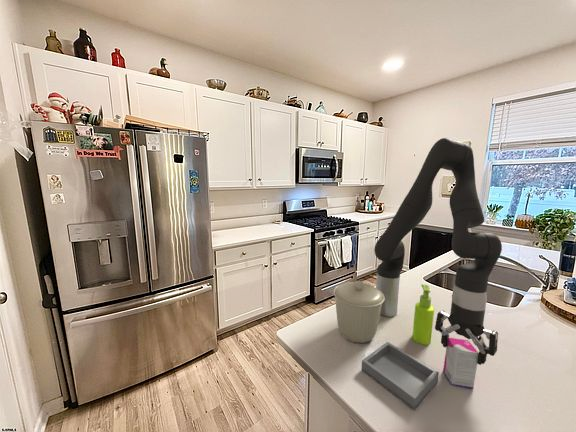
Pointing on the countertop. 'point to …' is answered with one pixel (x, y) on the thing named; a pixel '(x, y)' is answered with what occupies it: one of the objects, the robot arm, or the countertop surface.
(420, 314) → the soap dispenser
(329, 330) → the countertop surface
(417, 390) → the tray
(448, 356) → the supplement box
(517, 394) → the countertop surface
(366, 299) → the canister
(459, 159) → the robot arm
